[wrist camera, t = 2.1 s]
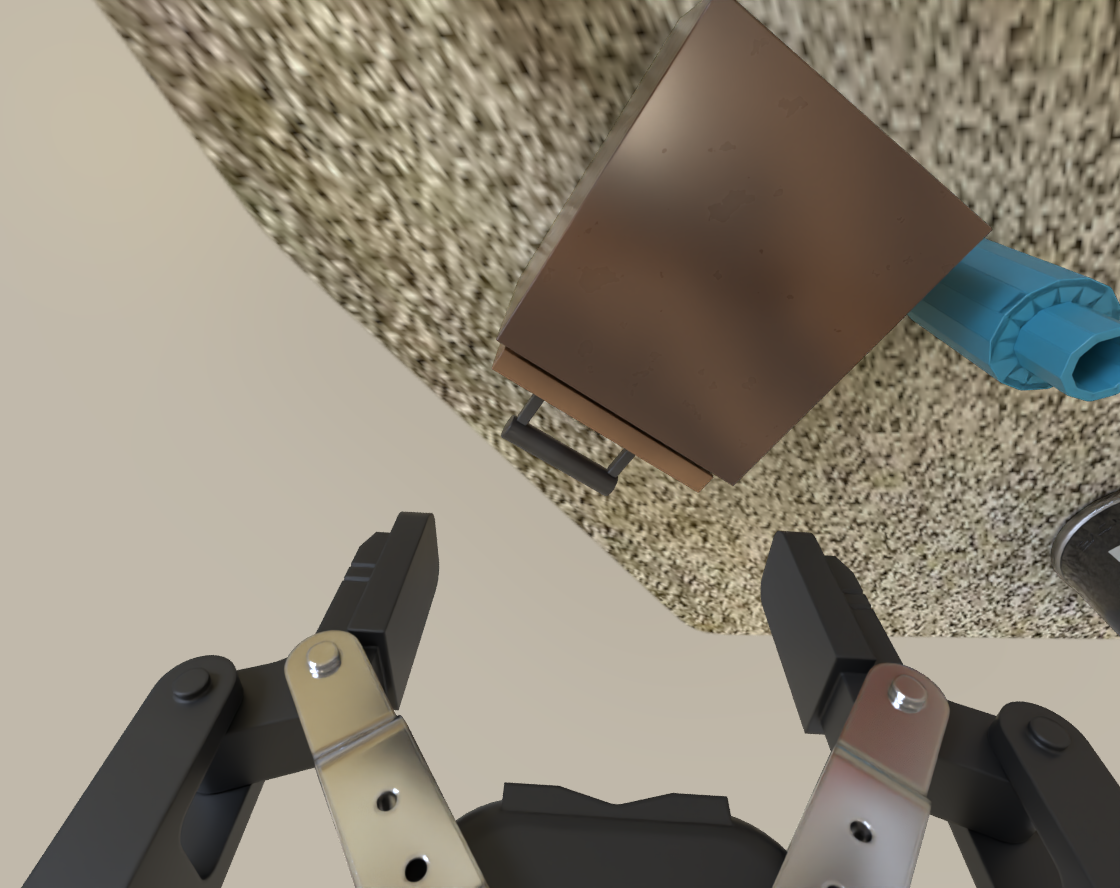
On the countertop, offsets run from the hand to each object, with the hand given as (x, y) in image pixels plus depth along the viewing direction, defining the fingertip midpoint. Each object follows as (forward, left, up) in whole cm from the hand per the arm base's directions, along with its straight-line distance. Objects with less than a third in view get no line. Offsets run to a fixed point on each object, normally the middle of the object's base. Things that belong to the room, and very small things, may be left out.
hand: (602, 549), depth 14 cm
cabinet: (-3, -5, -23) cm, 24 cm away
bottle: (-16, -11, -23) cm, 30 cm away
